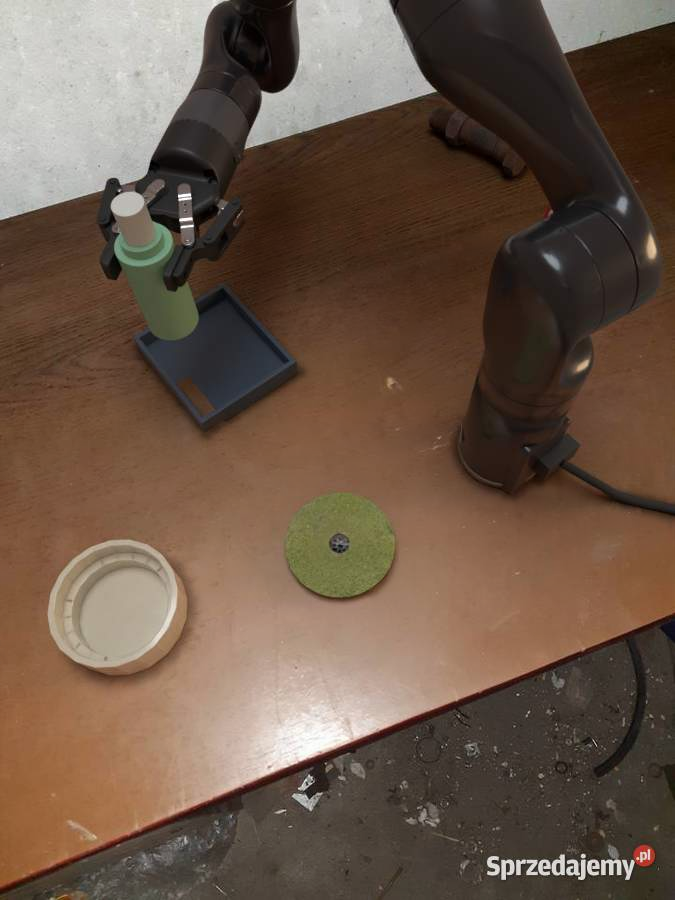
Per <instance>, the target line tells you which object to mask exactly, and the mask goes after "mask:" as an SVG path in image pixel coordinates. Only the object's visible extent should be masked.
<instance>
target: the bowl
mask: <svg viewBox="0 0 675 900" xmlns="http://www.w3.org/2000/svg"><path fill="white" fill-rule="evenodd" d="M188 602H189V601H188V596H187V592H186V589H185V584H184V582H183V580H182V578H181V577H180V576H179V575H178V573H177V572H176V570H175V569H174V567H173V566H172V565H171V563H170V562H169V561H168V560H167V559H166V558H165V556H164V555H163V554H162V553H160V552H159V551H158V550H157V549H156V548H153V547H152V546H151V545H149V544H146V543H144V542H141V541H136V540H132V539H110V540H107V541H104V542H100V543H98V544H95V545H93V546H90V547H88V548H87V549H86V550H83V551H82V552H81V553H79V554H78V555H77V556H75V557H73V558H72V560H70V562H69V563H68V564H67V565H66V566H65V567H64V568H63V570H62V571H61V572H60V573H59V575H58V577H57V579H56V581H55V583H54V585H53V587H52V589H51V591H50V595H49V601H48V606H47V614H46V616H47V621H48V626H49V632H50V635H51V637H52V638H53V640H54V642H55V644H56V645H57V647H58V649H59V650H60V651H61V652H62V653H63V654H65V655H66V656H67V657H68V658H69V659H71V660H72V661H73V662H75V663H76V664H79V665H81V666H83V667H85V668H86V669H89V670H91V671H94V672H97V673H101V674H103V675H106V676H130V675H133V674H135V673H139V672H141V671H144V670H146V669H147V670H148V669H149V668H151V667H152V666H153V665H155V664H156V663H157V662H159V661H160V660H161V659H163V658H164V657H166V655H168V654H169V652H170V651H171V650H172V648H173V647H174V646H175V644H176V643H177V642H178V640H179V639H180V637H181V635H182V632H183V629H184V627H185V624H186V621H187V617H188V604H189V603H188Z"/></svg>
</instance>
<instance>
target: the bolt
mask: <svg viewBox="0 0 675 900" xmlns="http://www.w3.org/2000/svg"><path fill="white" fill-rule="evenodd" d="M427 121H428V126H429V127H430V128H431V129H433V130H435V131H436V132H439V133H441V134H443V135H444V136H445V139H446V141H447V142H448V144H449V145H451V146H454V147H455V148H457V147H460V146H462V145H463V144H464V145H466V146H469V147H471V148H473V149H475V150H477V151H479V152H481V153H483V154H486V155H487V156H490V157H491V158H494V159H496V160H497V161H498V162H500V163H502V164H501V166H502V168H503V171H504V174H505V175H507V176H509V177H511V178H514V177H515V176H517V175H519V174H520V173H521V172H522V171H523V169H524V168H525V166H527V164H526V163H525V162H524V161H523V159H522V158H521V157H520V156H519V155H518V154H517V153H516V152H515V151H514V150H513V149H512V148H511V147H510V146H509V145H508V144H507V143H505V142H504V141H503V140H501V139H500V138H499V137H497V136H496V135H495V134H493V133H492V132H491V131H489V130H488V129H486V128H485V127H483V126H482V125H480V124H479V123H477V122H476V121H475V120H473V119H472V118H470V117H469V116H467V115H466V114H465V113H463V112H462V111H461V110H459V109H457V110H455V111H454V110H452V109H450V108H448V107H446V106H443V105H442V106H440V107H436V108H433V109H431V111H430V116H429V117H428V120H427Z"/></svg>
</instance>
